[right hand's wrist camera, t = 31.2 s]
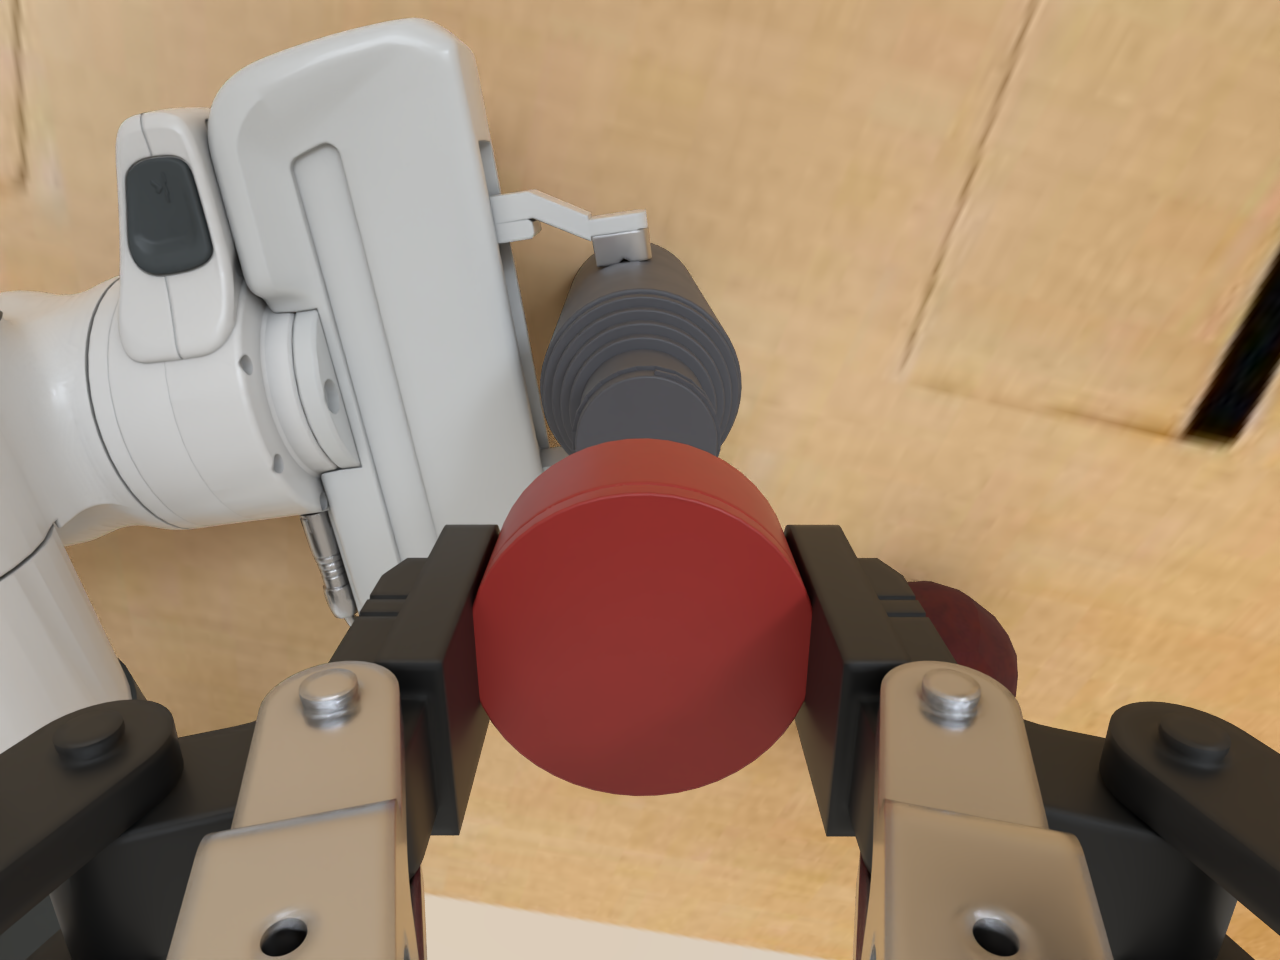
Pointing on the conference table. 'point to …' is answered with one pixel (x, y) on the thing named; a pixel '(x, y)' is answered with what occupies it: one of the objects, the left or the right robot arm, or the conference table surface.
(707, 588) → the cap
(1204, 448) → the conference table surface
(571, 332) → the bottle
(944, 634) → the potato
